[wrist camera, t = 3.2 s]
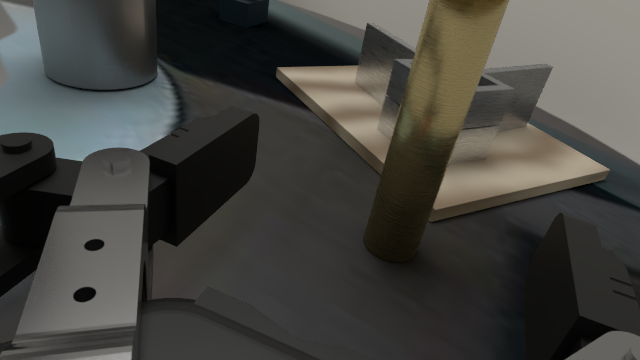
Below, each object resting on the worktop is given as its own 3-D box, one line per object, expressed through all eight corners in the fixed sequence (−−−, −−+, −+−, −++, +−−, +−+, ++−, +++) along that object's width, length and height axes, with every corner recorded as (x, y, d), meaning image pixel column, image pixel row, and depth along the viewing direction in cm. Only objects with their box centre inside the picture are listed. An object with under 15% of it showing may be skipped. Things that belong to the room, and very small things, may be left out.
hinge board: (275, 76, 47) (277, 67, 46) (422, 72, 56) (424, 64, 56) (430, 222, 29) (435, 209, 29) (604, 179, 39) (610, 169, 38)
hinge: (321, 83, 45) (332, 21, 41) (442, 78, 52) (459, 26, 49) (425, 169, 33) (451, 93, 30) (560, 146, 41) (592, 84, 38)
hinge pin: (340, 228, 27) (410, -70, 19) (397, 215, 29) (484, -58, 21) (381, 278, 24) (488, -50, 16) (441, 259, 26) (564, -38, 18)
